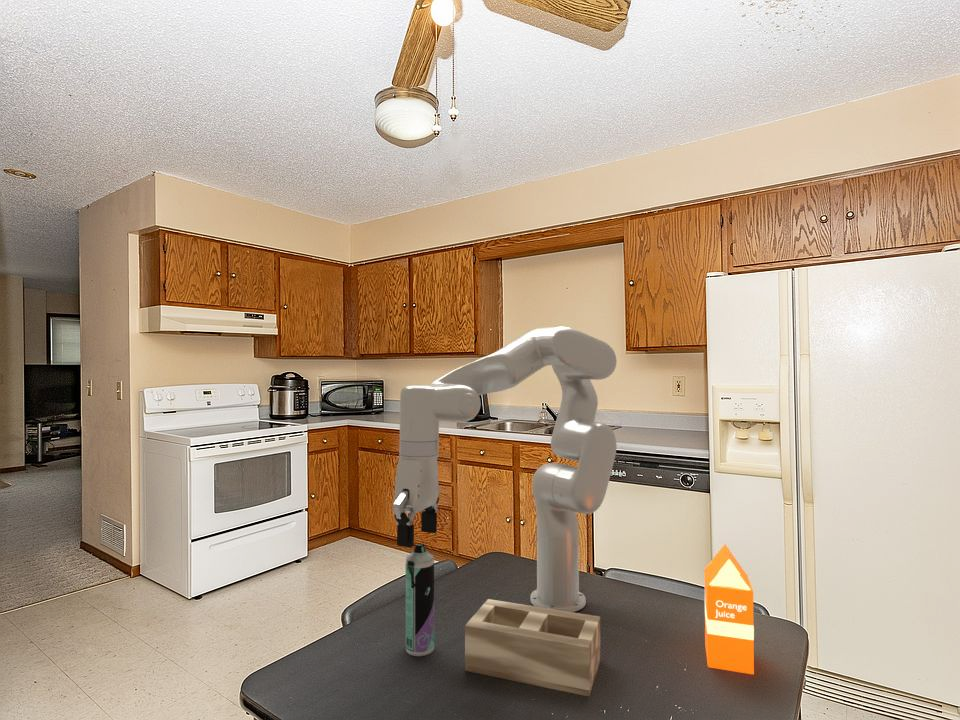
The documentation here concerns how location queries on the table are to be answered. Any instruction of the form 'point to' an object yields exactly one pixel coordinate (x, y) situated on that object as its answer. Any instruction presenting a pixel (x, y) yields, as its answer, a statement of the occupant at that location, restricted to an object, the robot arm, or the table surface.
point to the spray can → (419, 602)
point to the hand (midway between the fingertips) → (417, 538)
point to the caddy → (534, 646)
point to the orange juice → (728, 615)
